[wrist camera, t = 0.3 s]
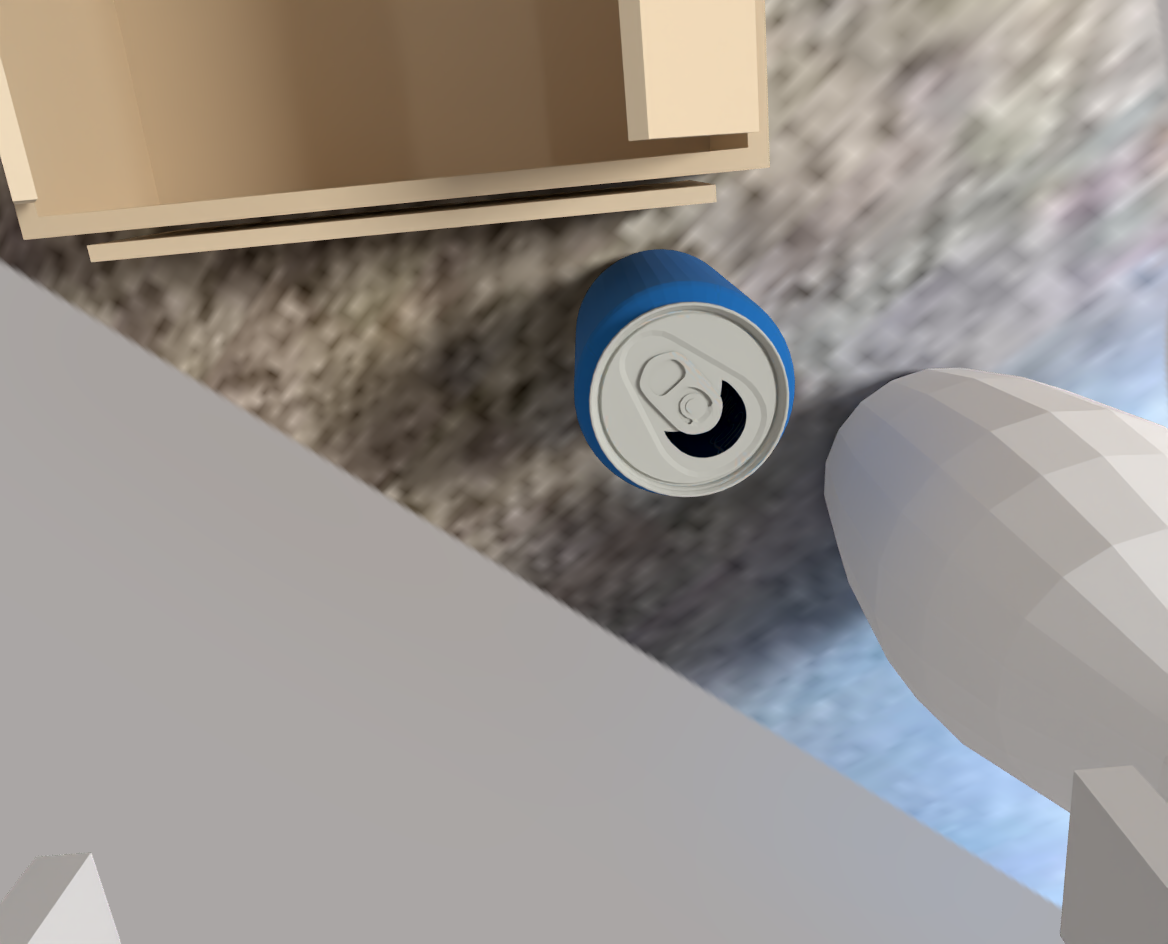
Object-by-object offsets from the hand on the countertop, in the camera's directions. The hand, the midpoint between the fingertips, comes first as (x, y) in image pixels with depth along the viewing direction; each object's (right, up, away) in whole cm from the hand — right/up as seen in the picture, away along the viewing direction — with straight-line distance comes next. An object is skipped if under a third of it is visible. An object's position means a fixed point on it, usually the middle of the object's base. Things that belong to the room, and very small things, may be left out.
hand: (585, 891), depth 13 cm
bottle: (+15, +6, +27) cm, 31 cm away
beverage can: (+3, +11, +25) cm, 28 cm away
